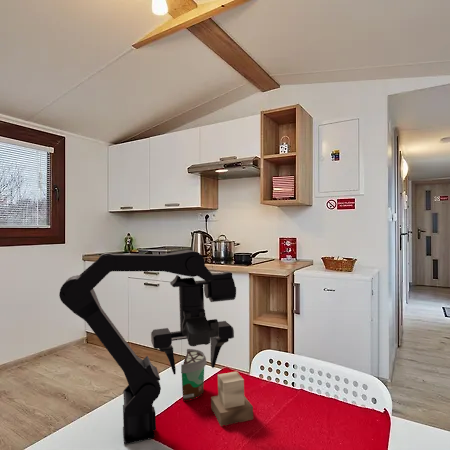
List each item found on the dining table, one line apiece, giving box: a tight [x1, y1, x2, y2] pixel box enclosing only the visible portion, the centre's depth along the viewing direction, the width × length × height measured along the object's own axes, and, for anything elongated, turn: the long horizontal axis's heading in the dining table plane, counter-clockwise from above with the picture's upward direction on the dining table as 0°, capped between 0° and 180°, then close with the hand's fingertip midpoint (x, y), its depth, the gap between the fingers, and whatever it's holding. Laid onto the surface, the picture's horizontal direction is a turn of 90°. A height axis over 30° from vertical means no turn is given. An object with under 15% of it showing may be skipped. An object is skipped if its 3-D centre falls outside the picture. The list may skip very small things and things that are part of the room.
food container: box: [180, 348, 208, 402], centre depth 96 cm, size 12×6×10 cm, turn 179°
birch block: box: [217, 371, 245, 409], centre depth 84 cm, size 5×5×6 cm
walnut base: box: [210, 395, 254, 427], centre depth 84 cm, size 8×8×3 cm
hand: (193, 370), depth 82 cm, fingers open, 9 cm apart
